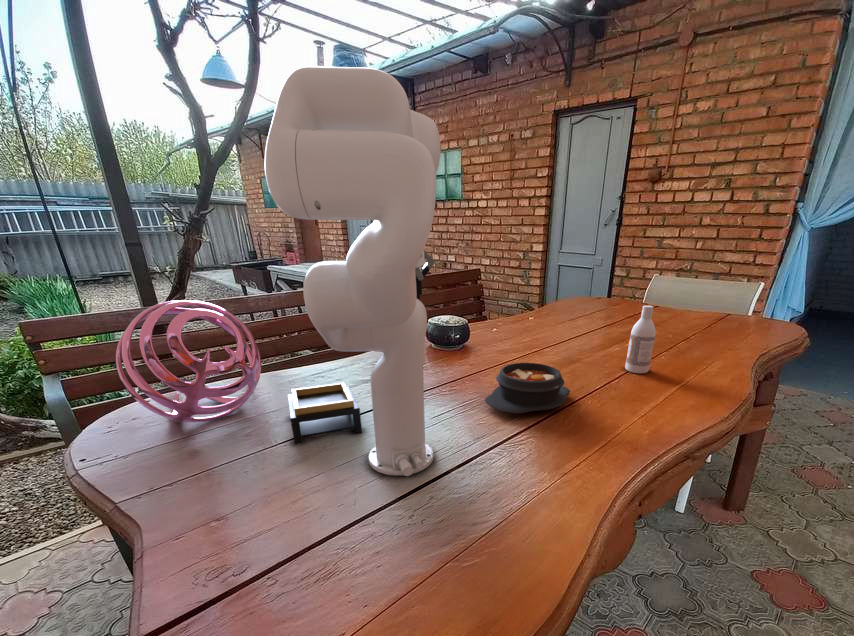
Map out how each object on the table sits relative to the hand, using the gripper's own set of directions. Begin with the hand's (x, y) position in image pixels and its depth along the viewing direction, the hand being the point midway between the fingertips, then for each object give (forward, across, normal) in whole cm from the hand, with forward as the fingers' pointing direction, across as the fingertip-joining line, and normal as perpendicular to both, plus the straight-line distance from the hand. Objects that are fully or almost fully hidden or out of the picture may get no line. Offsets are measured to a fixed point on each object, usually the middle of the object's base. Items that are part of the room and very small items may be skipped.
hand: (400, 298), depth 92 cm
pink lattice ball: (+27, -44, +16) cm, 54 cm away
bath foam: (+27, +76, +7) cm, 81 cm away
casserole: (+27, +32, -4) cm, 42 cm away
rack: (+27, -19, 0) cm, 33 cm away
